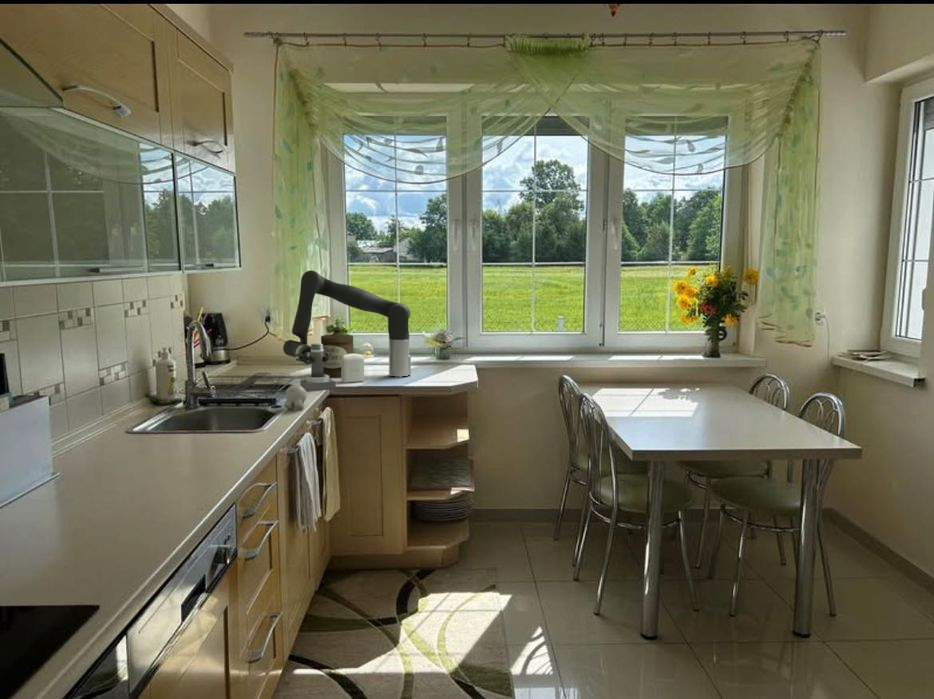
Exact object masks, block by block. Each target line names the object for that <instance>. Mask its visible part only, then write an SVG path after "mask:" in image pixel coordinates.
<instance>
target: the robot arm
mask: <svg viewBox="0 0 934 699" xmlns="http://www.w3.org/2000/svg"><path fill="white" fill-rule="evenodd" d="M300 279H301V280H300V291H299V299H298V304H297V310H296V313H295V316H294V320H293V323H292V324H293V325H292V328H291V333H292V335H294V336H296V337H298V338H299V341H297V340H294V339H293V340H292V339H288V340H286V341H285V342H284V343H283V346H282V350H283V353H284V354H285V355H286V356H289V357H292V358H295V360H296V362H297V361H298V362H301V363H304V364H307V365H311V363H314V358H313V357H311V345H309V344H308V334H309V331H310V330H309V329H310V326H311V321H312V312H313V304H314V303H313V302H314V299H315V297H316V296H315V295H321V296H323V297H327V298H330V299H333V300H335V301H337V302H339V303H341V304H343V305H346V306H348V307H350V308H353V309H357V310H358V311H363V312H368V313H373V314H379V315H382V316H384V317H386V318H387V332H388V376H389V377H390V376H396V377H395V378H398V377H397V376H408V375H412V368H411V367H412V355H410V331H409V319H410V317H411V310H410V308H409V307H408V305H406V304H404V303H401V302H396V301H392V300H388V299H385V298H383V297H380V296H379V295H377V294H375V293H371V292H369V291H367V290H365V289H363V288H359V287H356V286H354V285H350V284H345V283H338V282H336V281H333V280H330V279H328V278H325V277H324V276H322V275H320V273H318V272H317V271H315V270H307V271H305V272H304V273H303V274H302V276H301V278H300ZM328 356H329V354H328V353H327V352H326V353H324V354H323V361H324V362H327V361H328V360H329V359H328ZM408 377H409V376H408Z"/></svg>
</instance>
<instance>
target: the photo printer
mask: <svg viewBox="0 0 934 699" xmlns="http://www.w3.org/2000/svg"><path fill="white" fill-rule="evenodd" d="M340 380H341V384H342V383H343V384H347V383H356V382H357V383H358V382H359V381H361V382H364V381H365V356H364V354H360V353H354V354H347V355H344V356H342V359H341V377H340ZM359 383H360V382H359Z"/></svg>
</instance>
